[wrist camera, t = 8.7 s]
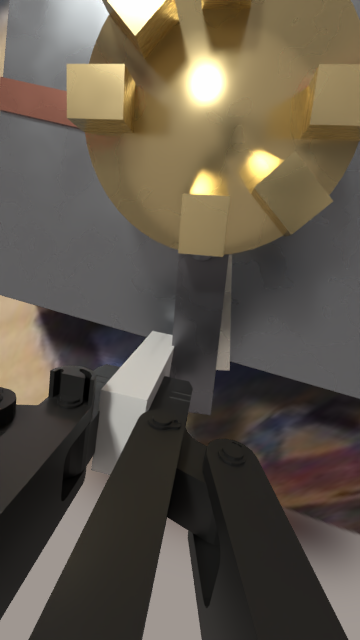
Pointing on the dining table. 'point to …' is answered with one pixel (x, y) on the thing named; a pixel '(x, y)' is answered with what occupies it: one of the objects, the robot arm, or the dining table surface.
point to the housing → (142, 251)
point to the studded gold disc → (218, 136)
